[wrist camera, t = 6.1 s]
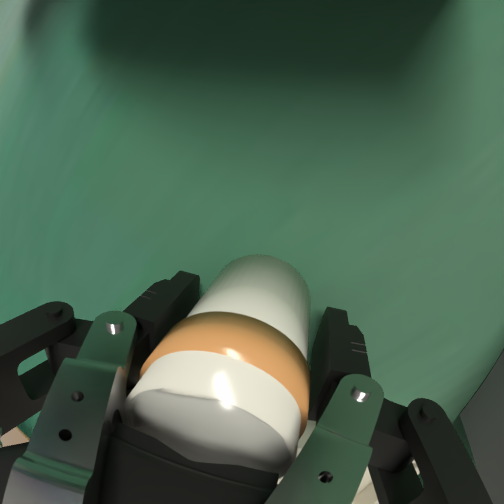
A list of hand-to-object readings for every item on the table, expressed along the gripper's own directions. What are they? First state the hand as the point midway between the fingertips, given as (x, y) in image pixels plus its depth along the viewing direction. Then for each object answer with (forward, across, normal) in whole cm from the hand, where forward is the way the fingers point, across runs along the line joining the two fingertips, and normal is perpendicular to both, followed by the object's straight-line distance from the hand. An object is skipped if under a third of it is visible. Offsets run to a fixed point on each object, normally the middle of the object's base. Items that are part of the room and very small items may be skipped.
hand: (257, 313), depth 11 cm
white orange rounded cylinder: (+1, 0, 0) cm, 1 cm away
